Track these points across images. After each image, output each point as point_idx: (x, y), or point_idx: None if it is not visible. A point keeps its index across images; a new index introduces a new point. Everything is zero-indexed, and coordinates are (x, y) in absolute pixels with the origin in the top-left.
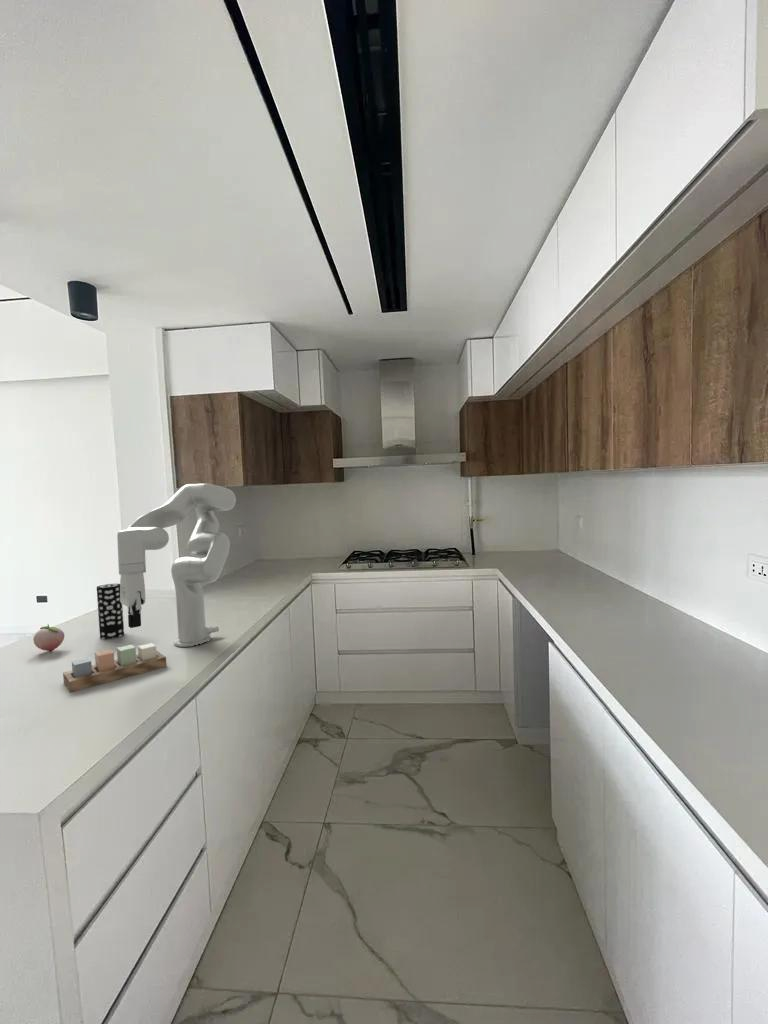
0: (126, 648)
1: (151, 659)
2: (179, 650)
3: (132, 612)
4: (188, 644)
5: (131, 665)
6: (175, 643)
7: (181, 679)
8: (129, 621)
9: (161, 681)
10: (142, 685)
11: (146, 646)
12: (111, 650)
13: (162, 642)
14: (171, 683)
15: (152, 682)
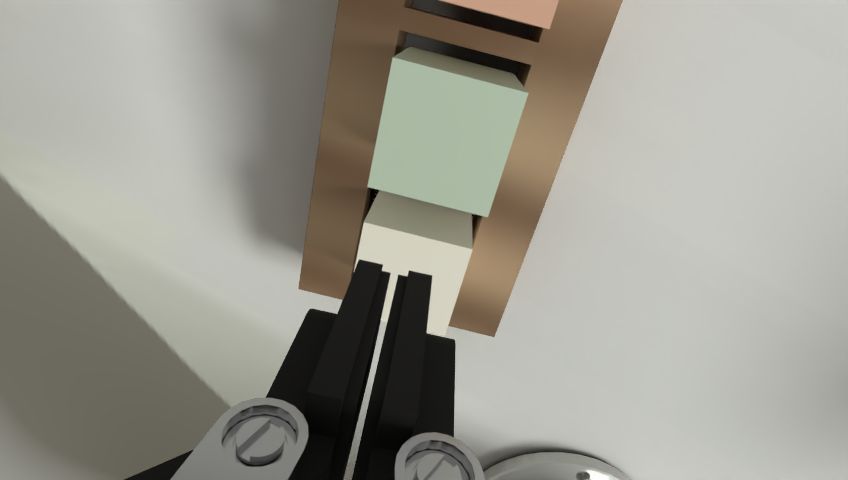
0: (415, 130)
1: (334, 223)
2: (493, 421)
3: (195, 464)
4: (493, 475)
5: (334, 86)
6: (580, 463)
7: (48, 183)
8: (359, 313)
9: (97, 111)
10: (115, 11)
11: (396, 274)
12: (499, 15)
13: (717, 462)
14: (25, 122)
15: (121, 74)
